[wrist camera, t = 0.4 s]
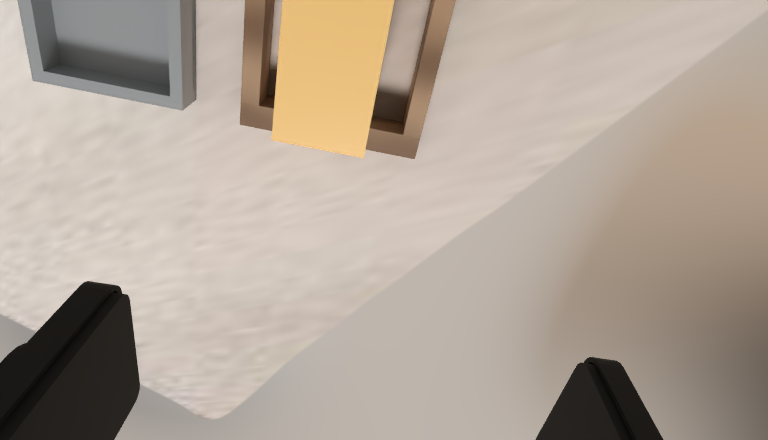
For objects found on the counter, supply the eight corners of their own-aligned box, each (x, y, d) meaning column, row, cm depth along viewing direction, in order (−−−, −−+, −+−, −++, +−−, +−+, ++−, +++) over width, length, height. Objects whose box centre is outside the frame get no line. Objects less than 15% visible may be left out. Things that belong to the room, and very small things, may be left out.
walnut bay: (260, -88, 28) (249, -91, 26) (460, -41, 29) (465, -39, 27) (249, 113, 34) (239, 124, 32) (413, 145, 35) (414, 159, 33)
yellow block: (321, -66, 28) (288, -68, 20) (400, -47, 29) (402, -42, 20) (303, 88, 33) (271, 140, 25) (372, 102, 34) (363, 158, 25)
